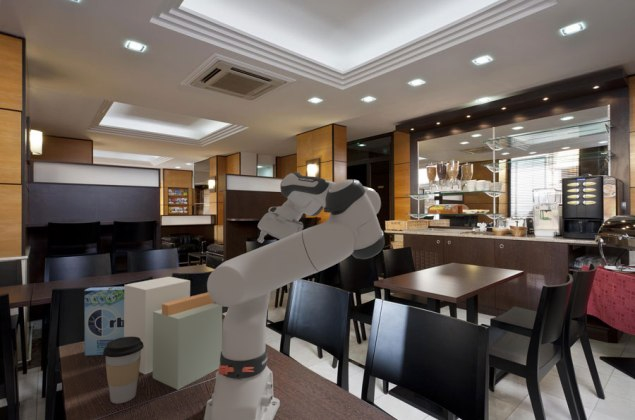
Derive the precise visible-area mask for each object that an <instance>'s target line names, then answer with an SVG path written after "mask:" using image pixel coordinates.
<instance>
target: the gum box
mask: <svg viewBox="0 0 635 420" xmlns="http://www.w3.org/2000/svg"><path fill="white" fill-rule="evenodd" d="M83 291H84V294H83V295H84V298H83V299H84V300H83V301H84V302H83V303H84V356H104V355H103V352H104V349H105V348H106V346H107V344H108V343H109V342H110V341H112V340H115V339H118V338H122V337H124V286H90V287H88V288H86V289H84V290H83Z"/></svg>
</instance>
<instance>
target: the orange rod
mask: <svg viewBox="0 0 635 420" xmlns="http://www.w3.org/2000/svg"><path fill="white" fill-rule="evenodd" d="M211 303H215V302H214V301H213V300H212V299H211V297H210V296H209V293H208V291H207V292H204V293H199V294H196V295H192V296H191V295H190V297H187V298H183V299H179V300H176V301H172V302H168V303H164V304H162V314H163V315H166V316H170V315H173V314H177V313H180V312H183V311H187V310H190V309H194V308H197V307H200V306H204V305H207V304H211Z"/></svg>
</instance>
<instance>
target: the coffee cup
mask: <svg viewBox="0 0 635 420" xmlns="http://www.w3.org/2000/svg"><path fill="white" fill-rule="evenodd" d="M143 347H144V345H143V342H142V341H141V339H140V338H139V337H122V338H118V339H115V340H112V341H110V342H109V343H108V344H107V346H106V348H105V349H104V352H103V355H102V356H105V369H106V379H107V385H108V391H109V399H110V402H111V403H112V404H117V405H118V404H122V403H127V402H129V401H131V400H133V399H134V398H135V397H136V396H137V387H138V379H139V377H140V372H139V369H140V360H141V356H140V355H141V349H143Z"/></svg>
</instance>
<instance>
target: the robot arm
mask: <svg viewBox="0 0 635 420" xmlns="http://www.w3.org/2000/svg"><path fill="white" fill-rule="evenodd" d="M279 188H280V194H281V195H283V196H284V197H285V198H287V200H286V201H285V202H283V204H282V205H281V206H280V205H279V206H271V207H269V208H268V210H267V211H268V212H267V213H265V214H264V215H263V216H262V217H261V218H260V220H259V222H258V224H257V228H258V229H259V230H260V234H259V237H258V238H257V242H258V243H260V244H262V243H264V241H265V239H264V238H265V236H267V235H270V236H271V237H273V238H276V239H278V240H275V241H273V242H271V243H269V244H266V245H263V246H260V247H258V248H256V249H253V250H250V251H248V252H245V253H242V254H240V255H238V256H235V257H233V258H230V259H228V260H225V261H224V262H222V263H220V264H219V265H218V266H217V267H216V268H215V269H214V270H212V271H211V273H210V274H209V275H208V278H207V282H206V288H207V292H208V293H209V296H210V297H211V299H212V300H213V301H214V303H215V304H218V305H220V306H222V307H227V311H226V314H225V315H224V318H223V319H222V352H221V355H220V360H219V364H220V365H219V369H217V371H216V372H215V384H214V389H213V390H214V391H213V392H212V393H211V396H210V399H208V400H207V401H206V406H205V411H204V416H203V420H274V418H275V417H276V414H277V412H278V410H279V408H280V406H281V402H280V399H278V398H277V397H275V396H274V375H273V371H272V370H271V369H270V368H269V367H268V350H267V347H266V341H267V340H266V337H267V336H266V333H267V332H266V331H267V329H266V328H267V327H266V326H267V316H268V308H269V305H270V304H269V303H270V298H271V292H273V291H276V290H277V289H279V288H282V287H284V286H286V285H288V284H291V283H293V282H296V281H298V280H301V279H303V278H306V277H309V276H312V275H313V274H317V273H319V272H321V271H324V270H326V269H328V268H330V267H333V266H335V265H336V264H339V263H340V262H342V261H344V260H345V259H347V258H348V257H350V256H351V255H352V256H353V257H354V258H355V259H358V260H359V259H360V260H367V259H370V258H373V257H376V255H378V254H379V253H381V251H382V250H383V249H384V246H385V243H386V241H385V234H384V231H383V230H382V228H381V225H380V222H379V219H378V217H377V214H379V212H380V209H381V207H382V201H381V197H380V195H379V193H378V192H376V190H375V189H373V188H371V187H368V186H364V185H363V184H362V183H361V182H360V180H359V179H358V180H357V179H354V178H350V179H349V178H348V179H344V180H341V181H338V182H335V181H331V180H328V179H325V178H323V177H317V176H316V177H315V176H308V175H303V174H301V173H300V172H297V171H296V172H290V173H288V174H287V175H286V176H284V177H283V178H282V180H281V181H280V187H279ZM322 211H323V212H324V213H326V214H327V213H329V214H330V215H329V217H328V218H327V220H325V221H324V222H321V223H319V224H316V225H313V226H311V227H307V228H305V229H304V223H303V222H302V221H299V220H301V218H302V216H303V214H305V215H307V216H309V217H314V216H319V214H320V213H321V212H322Z"/></svg>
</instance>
